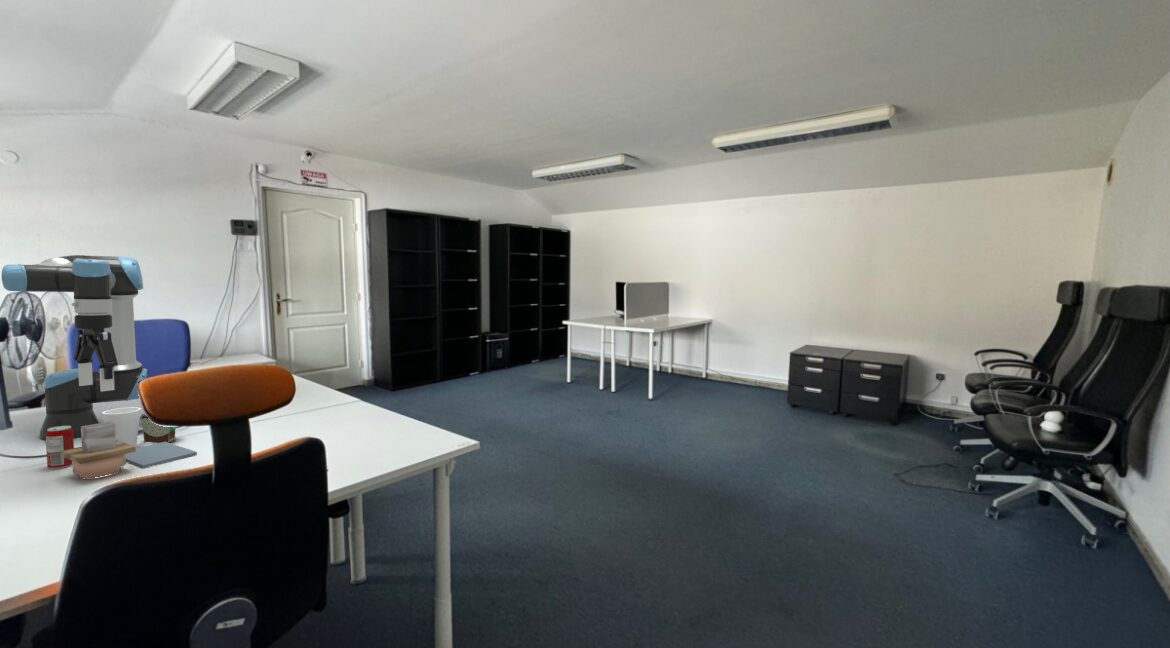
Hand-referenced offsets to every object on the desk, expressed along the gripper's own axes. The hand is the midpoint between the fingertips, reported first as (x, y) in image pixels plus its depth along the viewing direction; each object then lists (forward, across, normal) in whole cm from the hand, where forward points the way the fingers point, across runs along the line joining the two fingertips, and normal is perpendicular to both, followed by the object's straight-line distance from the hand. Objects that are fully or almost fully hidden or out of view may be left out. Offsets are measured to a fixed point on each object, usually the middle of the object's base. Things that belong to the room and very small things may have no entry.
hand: (96, 387), depth 140 cm
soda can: (+26, -17, -3) cm, 31 cm away
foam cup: (+26, -21, +13) cm, 36 cm away
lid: (+20, 0, 0) cm, 20 cm away
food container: (+26, -20, +24) cm, 41 cm away
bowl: (+25, 0, 0) cm, 25 cm away
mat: (+25, -5, +15) cm, 30 cm away
